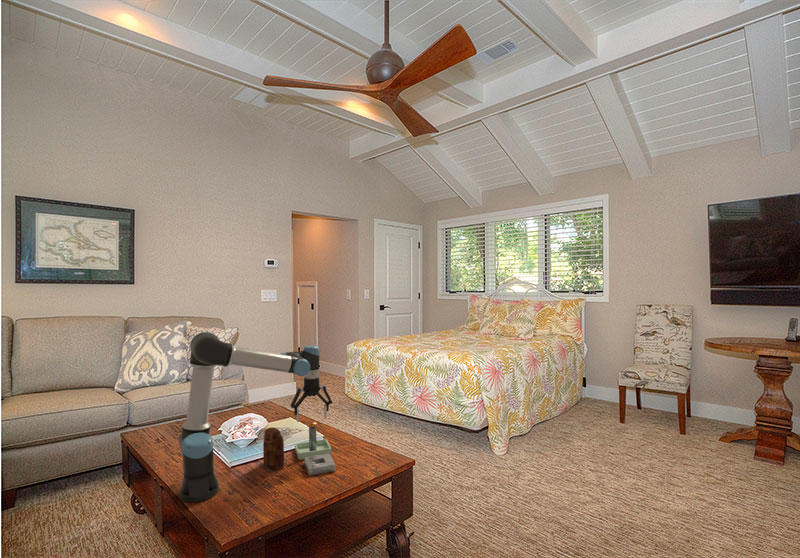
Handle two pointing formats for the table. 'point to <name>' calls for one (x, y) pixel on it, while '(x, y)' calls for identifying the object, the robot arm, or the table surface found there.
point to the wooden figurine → (273, 449)
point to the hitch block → (319, 464)
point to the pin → (312, 435)
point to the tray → (303, 451)
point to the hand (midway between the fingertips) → (311, 419)
